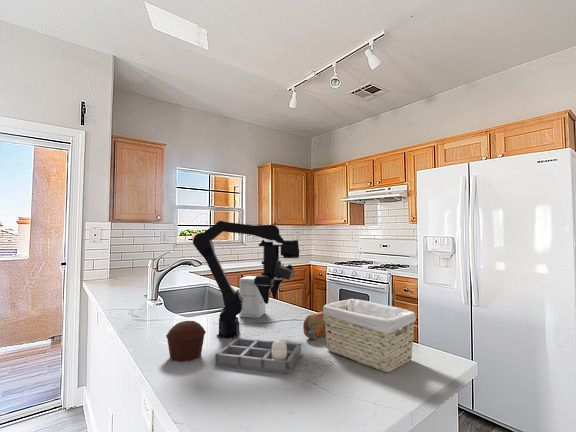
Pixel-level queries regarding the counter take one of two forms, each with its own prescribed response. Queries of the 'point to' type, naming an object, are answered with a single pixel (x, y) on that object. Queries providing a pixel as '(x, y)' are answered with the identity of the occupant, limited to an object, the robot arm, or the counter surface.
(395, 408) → the counter surface
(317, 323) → the tin
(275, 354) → the egg
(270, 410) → the counter surface
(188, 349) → the muffin
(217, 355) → the grey compartment tray
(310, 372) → the counter surface
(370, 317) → the storage basket
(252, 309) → the supplement box
